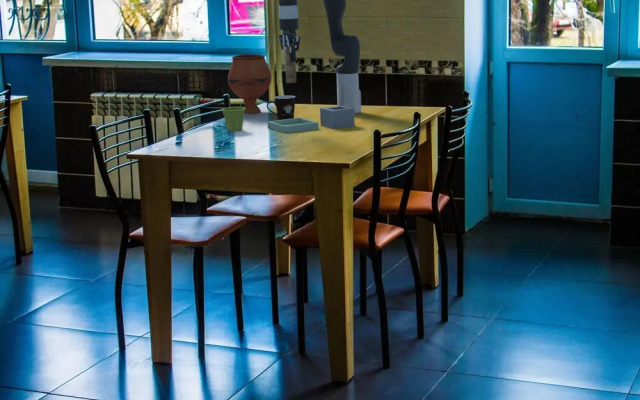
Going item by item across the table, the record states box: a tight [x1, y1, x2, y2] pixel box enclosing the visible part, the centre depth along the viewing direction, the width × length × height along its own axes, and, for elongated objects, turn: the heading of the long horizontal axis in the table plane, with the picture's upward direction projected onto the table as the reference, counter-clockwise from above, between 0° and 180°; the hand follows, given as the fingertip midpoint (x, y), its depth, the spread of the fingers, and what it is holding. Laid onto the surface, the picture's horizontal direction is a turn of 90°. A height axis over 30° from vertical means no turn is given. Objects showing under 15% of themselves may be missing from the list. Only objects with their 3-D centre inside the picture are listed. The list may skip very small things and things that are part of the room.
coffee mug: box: [266, 95, 296, 120], centre depth 431 cm, size 12×9×10 cm
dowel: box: [284, 46, 297, 84], centre depth 407 cm, size 4×4×14 cm
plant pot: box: [221, 106, 245, 132], centre depth 413 cm, size 9×9×9 cm
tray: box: [267, 117, 320, 134], centre depth 413 cm, size 15×15×3 cm
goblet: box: [227, 53, 272, 115], centre depth 454 cm, size 19×19×25 cm
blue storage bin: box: [319, 105, 356, 130], centre depth 415 cm, size 10×10×7 cm
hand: (290, 61), depth 407 cm, fingers closed on dowel, 4 cm apart
